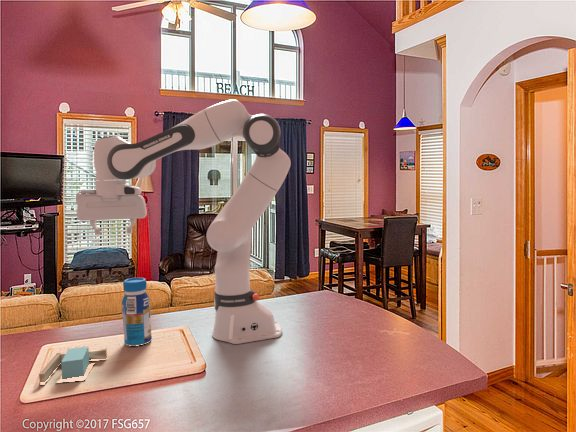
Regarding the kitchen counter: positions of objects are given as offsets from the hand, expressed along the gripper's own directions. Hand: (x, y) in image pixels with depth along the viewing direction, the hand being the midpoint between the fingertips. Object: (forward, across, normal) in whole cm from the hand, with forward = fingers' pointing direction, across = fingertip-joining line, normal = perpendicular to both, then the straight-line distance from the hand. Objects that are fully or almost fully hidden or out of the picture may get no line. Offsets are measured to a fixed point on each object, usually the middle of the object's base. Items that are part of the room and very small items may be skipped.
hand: (113, 233), depth 138 cm
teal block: (+34, -7, -23) cm, 41 cm away
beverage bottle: (+34, +6, -4) cm, 35 cm away
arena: (+34, -7, -22) cm, 41 cm away
